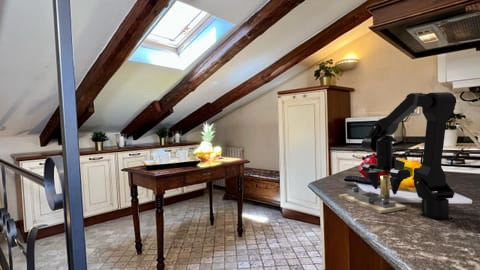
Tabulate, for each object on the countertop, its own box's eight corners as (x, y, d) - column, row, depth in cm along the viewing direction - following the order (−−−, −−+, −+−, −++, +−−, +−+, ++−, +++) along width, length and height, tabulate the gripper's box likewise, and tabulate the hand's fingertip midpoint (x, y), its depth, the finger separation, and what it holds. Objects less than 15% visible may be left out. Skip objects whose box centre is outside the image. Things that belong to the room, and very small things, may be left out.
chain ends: (398, 205, 95) (398, 196, 95) (381, 208, 93) (380, 199, 93) (359, 193, 113) (359, 185, 113) (344, 195, 111) (344, 187, 111)
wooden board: (405, 209, 94) (405, 206, 94) (380, 213, 91) (380, 210, 91) (360, 194, 115) (360, 191, 115) (338, 197, 112) (338, 194, 112)
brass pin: (391, 198, 107) (391, 176, 106) (385, 199, 106) (384, 177, 105) (385, 196, 110) (384, 175, 109) (378, 197, 109) (378, 175, 108)
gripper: (421, 153, 100) (422, 194, 101) (381, 149, 118) (382, 184, 119) (398, 155, 97) (399, 198, 98) (360, 151, 115) (361, 187, 116)
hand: (385, 191), depth 108 cm, fingers open, 9 cm apart
